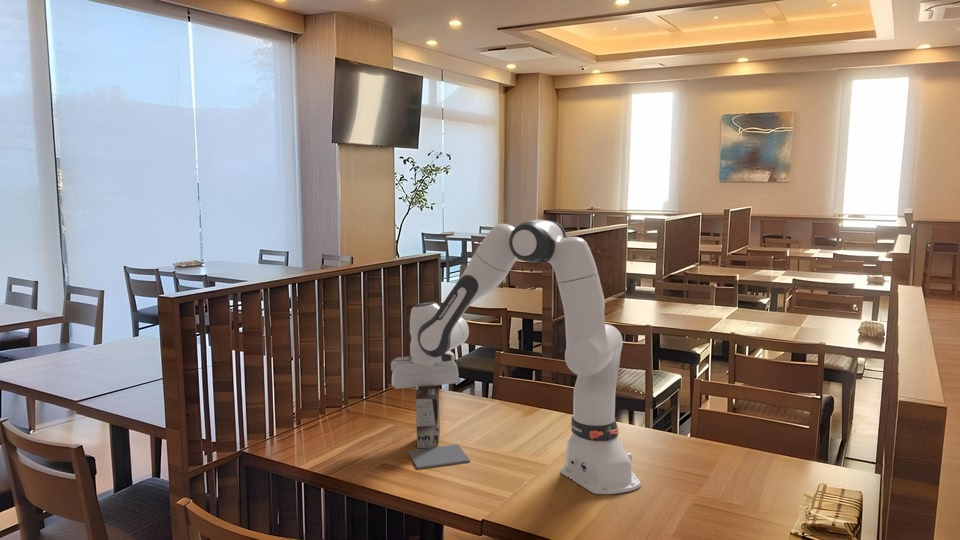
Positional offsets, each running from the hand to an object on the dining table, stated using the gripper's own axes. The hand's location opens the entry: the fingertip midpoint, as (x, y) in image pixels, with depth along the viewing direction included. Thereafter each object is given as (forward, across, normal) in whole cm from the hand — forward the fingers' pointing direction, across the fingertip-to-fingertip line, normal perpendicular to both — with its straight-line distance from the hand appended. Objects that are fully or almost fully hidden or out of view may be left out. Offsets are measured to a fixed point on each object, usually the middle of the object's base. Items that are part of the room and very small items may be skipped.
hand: (425, 399), depth 205 cm
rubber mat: (+12, 0, -16) cm, 20 cm away
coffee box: (+12, 0, -4) cm, 12 cm away
